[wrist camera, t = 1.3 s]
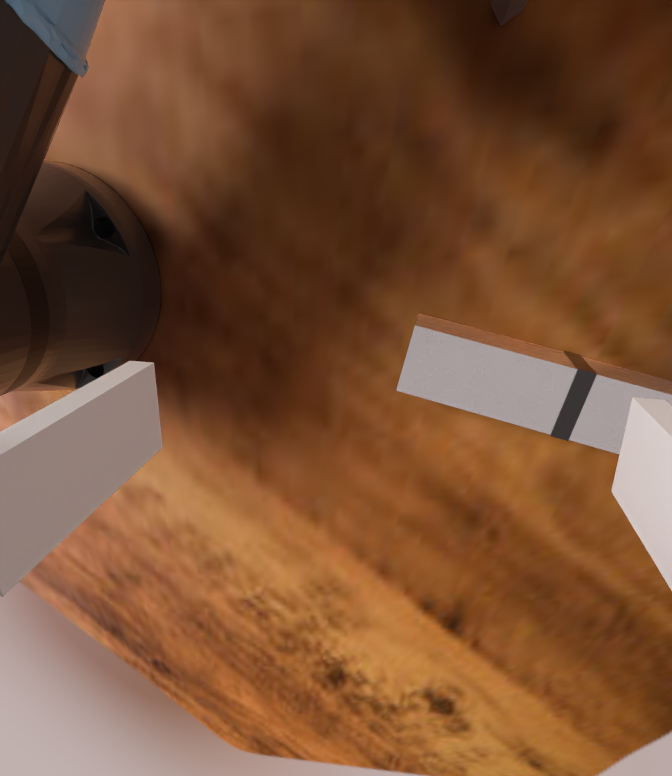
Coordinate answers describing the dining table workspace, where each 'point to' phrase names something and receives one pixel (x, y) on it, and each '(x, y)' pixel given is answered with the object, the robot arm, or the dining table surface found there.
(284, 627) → the dining table surface
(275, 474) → the dining table surface
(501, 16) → the planter
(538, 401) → the banded white block
